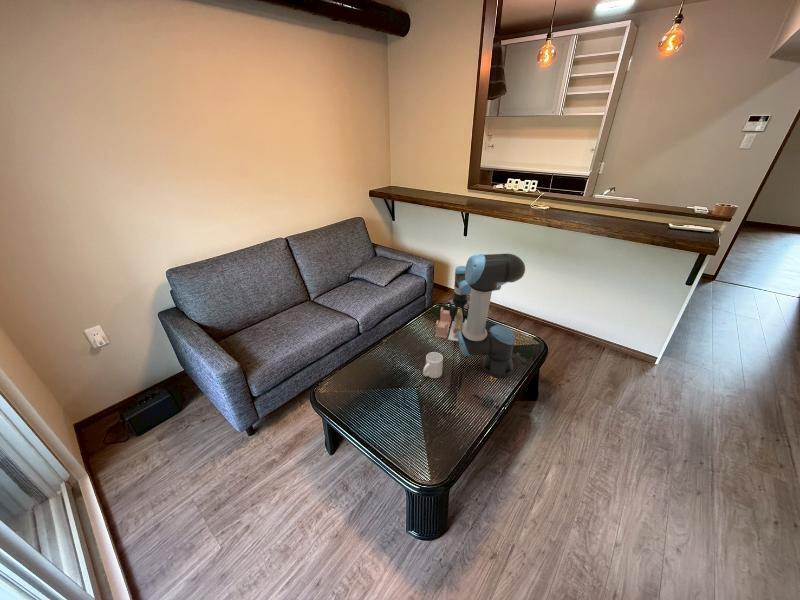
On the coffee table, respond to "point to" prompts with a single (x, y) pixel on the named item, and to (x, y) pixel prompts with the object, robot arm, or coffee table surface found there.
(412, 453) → the coffee table surface
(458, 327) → the rail
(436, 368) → the mug
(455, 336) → the mat
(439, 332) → the stand
